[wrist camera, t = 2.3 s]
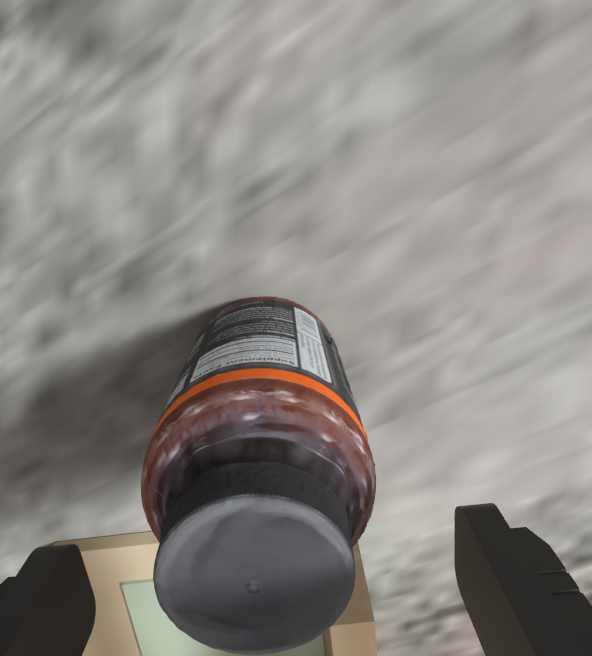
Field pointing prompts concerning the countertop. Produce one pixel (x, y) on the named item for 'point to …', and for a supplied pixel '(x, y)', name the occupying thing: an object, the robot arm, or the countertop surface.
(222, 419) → the supplement bottle
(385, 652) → the countertop surface
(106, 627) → the tray
